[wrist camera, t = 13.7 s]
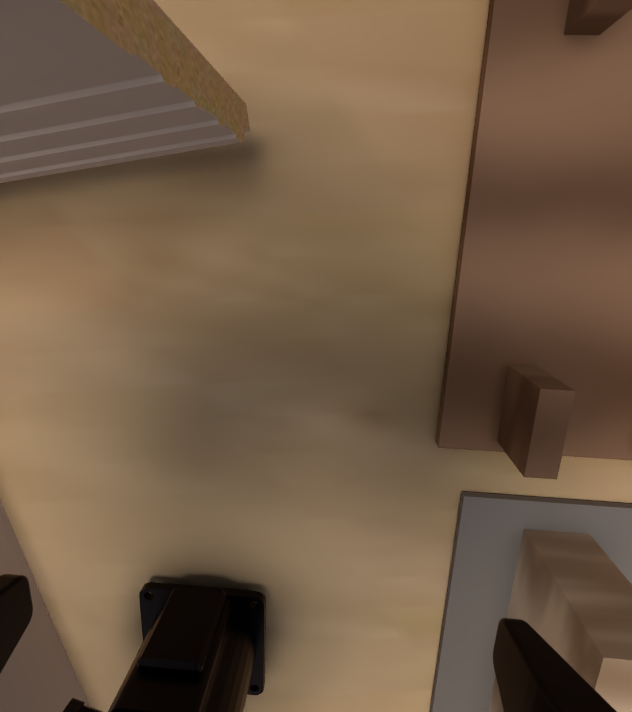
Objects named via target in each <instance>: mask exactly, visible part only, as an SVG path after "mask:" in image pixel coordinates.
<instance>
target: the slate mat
mask: <svg viewBox="0 0 632 712" xmlns="http://www.w3.org/2000/svg"><path fill="white" fill-rule="evenodd" d="M524 529H533V530H546V531H559V532H572V533H585V534H590V535H591V536H592V537H593V539H594V540H595V541H596V542H597V543H598V545H599V546H600V547H601V548H602V550H603V551H604V552H605V553H606V554H607V556H608V557H609V558H610V559H611V560H612V562H613V563H614V564H615V565H616V566H617V568H618V569H619V570H620V571H621V572H622V574H623V575H624V576H625V577H626V578H627V580H628V581H629V582H630V583H631V584H632V504H630V503H616V502H602V501H588V500H574V499H560V498H546V497H532V496H518V495H504V494H490V493H476V492H462V493H461V500H460V507H459V514H458V521H457V528H456V535H455V541H454V548H453V555H452V562H451V569H450V576H449V583H448V590H447V596H446V603H445V610H444V617H443V624H442V631H441V638H440V644H439V651H438V658H437V665H436V672H435V679H434V686H433V693H432V699H431V706H430V712H488V710H489V705H490V699H491V694H492V689H493V684H494V679H495V671H494V666H493V649H494V643H495V638H496V633H497V628H498V623H499V621H500V619H502V618H507V613H508V608H509V603H510V598H511V593H512V587H513V582H514V577H515V572H516V567H517V562H518V557H519V552H520V547H521V542H522V537H523V531H524Z"/></svg>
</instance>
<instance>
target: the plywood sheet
mask: <svg viewBox="0 0 632 712" xmlns="http://www.w3.org/2000/svg"><path fill="white" fill-rule="evenodd" d="M507 618H512V619H521V620H524V621H525V622H527V623H528V624H529V625H530V626H531V627H532V628H533V629H534V630H535V631H536V632H537V633H538V634H539V635H540V636H541V637H542V638H543V639H544V640H545V641H546V642H547V643H548V644H549V645H550V646H551V647H552V648H553V649H554V650H555V651H556V652H557V653H558V654H559V655H560V656H561V657H562V658H563V659H564V660H565V661H566V662H567V663H568V664H569V665H570V666H571V667H572V668H573V669H574V670H575V671H576V672H578V673H579V674H580V675H581V676H582V677H583V678H584V679H585V680H586V681H587V682H588V683H589V684H590V685H591V686H592V687H593V688H594V689H595V690H596V691H597V692H598V693H599V694H600V695H601V696H602V697H603V698H604V699H605V700H606V701H607V702H608V703H609V704H610V705H611V706H612V707H613V708H614V709H615V710H616V711H617V712H632V584H631V583H630V582H629V581H628V580H627V578H626V577H625V576H624V575H623V574H622V572H621V571H620V570H619V569H618V568H617V566H616V565H615V564H614V563H613V562H612V560H611V559H610V558H609V557H608V556H607V554H606V553H605V552H604V551H603V550H602V548H601V547H600V546H599V545H598V543H597V542H596V541H595V540H594V539H593V537H592V536H591V535H590V534H585V533H572V532H559V531H546V530H533V529H524V531H523V537H522V542H521V547H520V552H519V557H518V562H517V567H516V572H515V577H514V582H513V587H512V593H511V598H510V603H509V608H508V613H507ZM488 712H504V711H503V706H502V702H501V697H500V693H499V688H498V684H497V680H496V675H495V679H494V684H493V689H492V694H491V699H490V705H489V710H488Z"/></svg>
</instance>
